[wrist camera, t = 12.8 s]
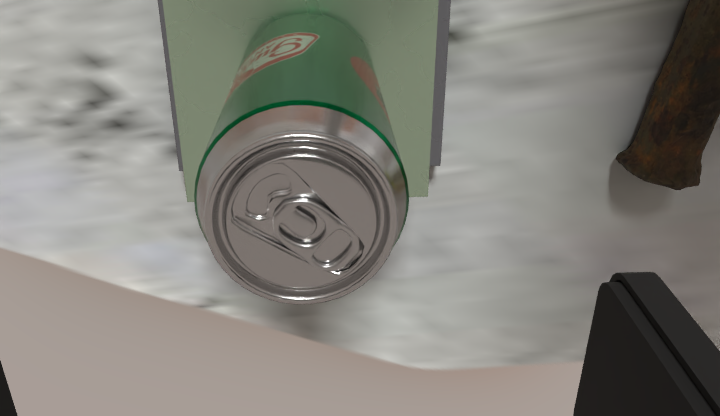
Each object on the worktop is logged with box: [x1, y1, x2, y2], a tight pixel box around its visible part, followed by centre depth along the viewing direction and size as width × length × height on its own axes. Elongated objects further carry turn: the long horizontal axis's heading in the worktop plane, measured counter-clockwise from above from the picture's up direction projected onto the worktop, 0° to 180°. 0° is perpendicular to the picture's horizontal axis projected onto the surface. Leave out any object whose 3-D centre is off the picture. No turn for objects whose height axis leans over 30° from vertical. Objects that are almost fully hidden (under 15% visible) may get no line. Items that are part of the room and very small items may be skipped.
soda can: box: [194, 14, 409, 304], centre depth 20 cm, size 5×5×12 cm
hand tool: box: [616, 0, 720, 190], centre depth 33 cm, size 19×4×5 cm, turn 167°
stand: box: [158, 0, 451, 202], centre depth 30 cm, size 14×14×10 cm
